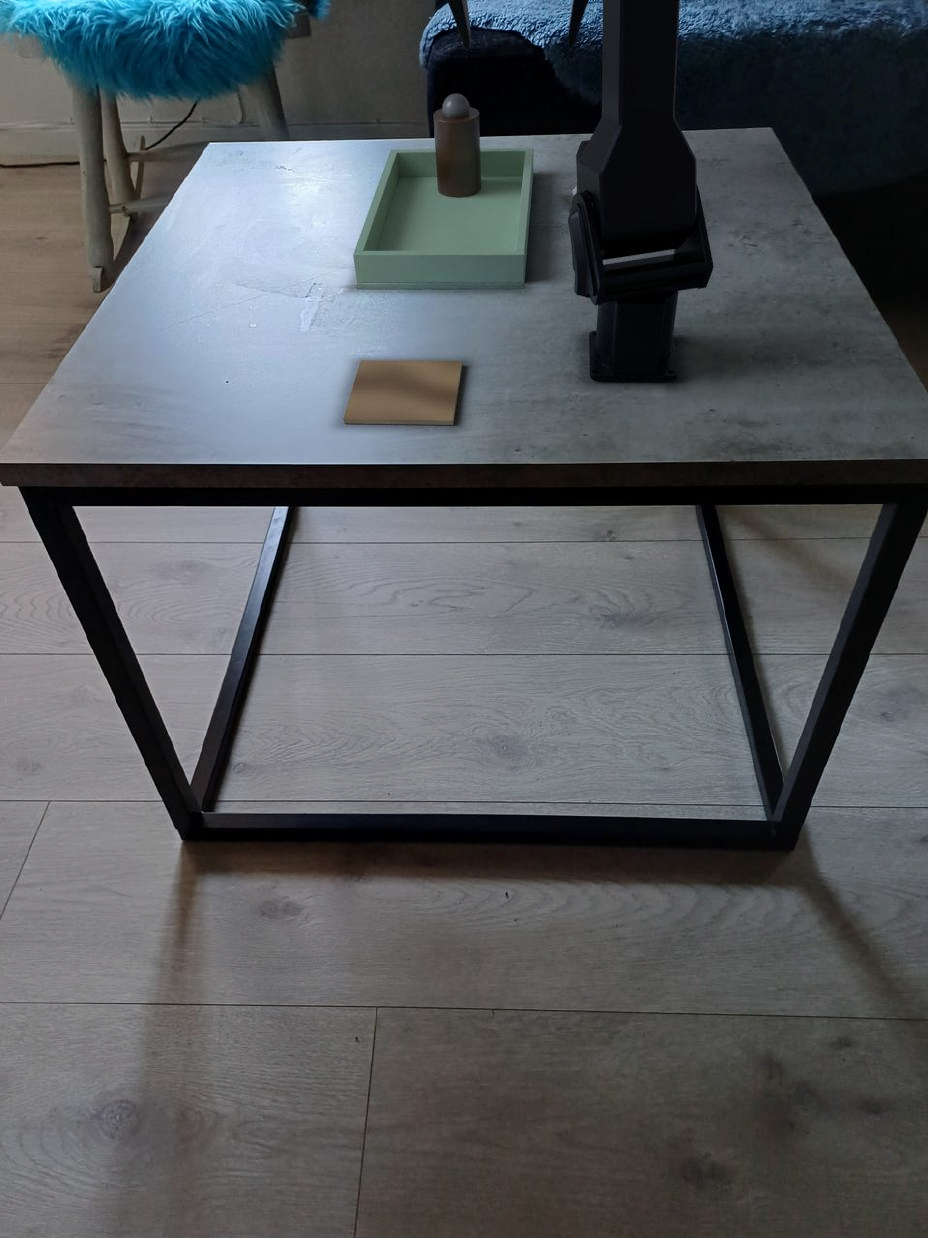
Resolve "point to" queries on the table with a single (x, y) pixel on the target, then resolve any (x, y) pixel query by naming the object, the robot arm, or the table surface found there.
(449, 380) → the cork mat
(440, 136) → the pepper mill
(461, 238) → the tray
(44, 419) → the table surface
